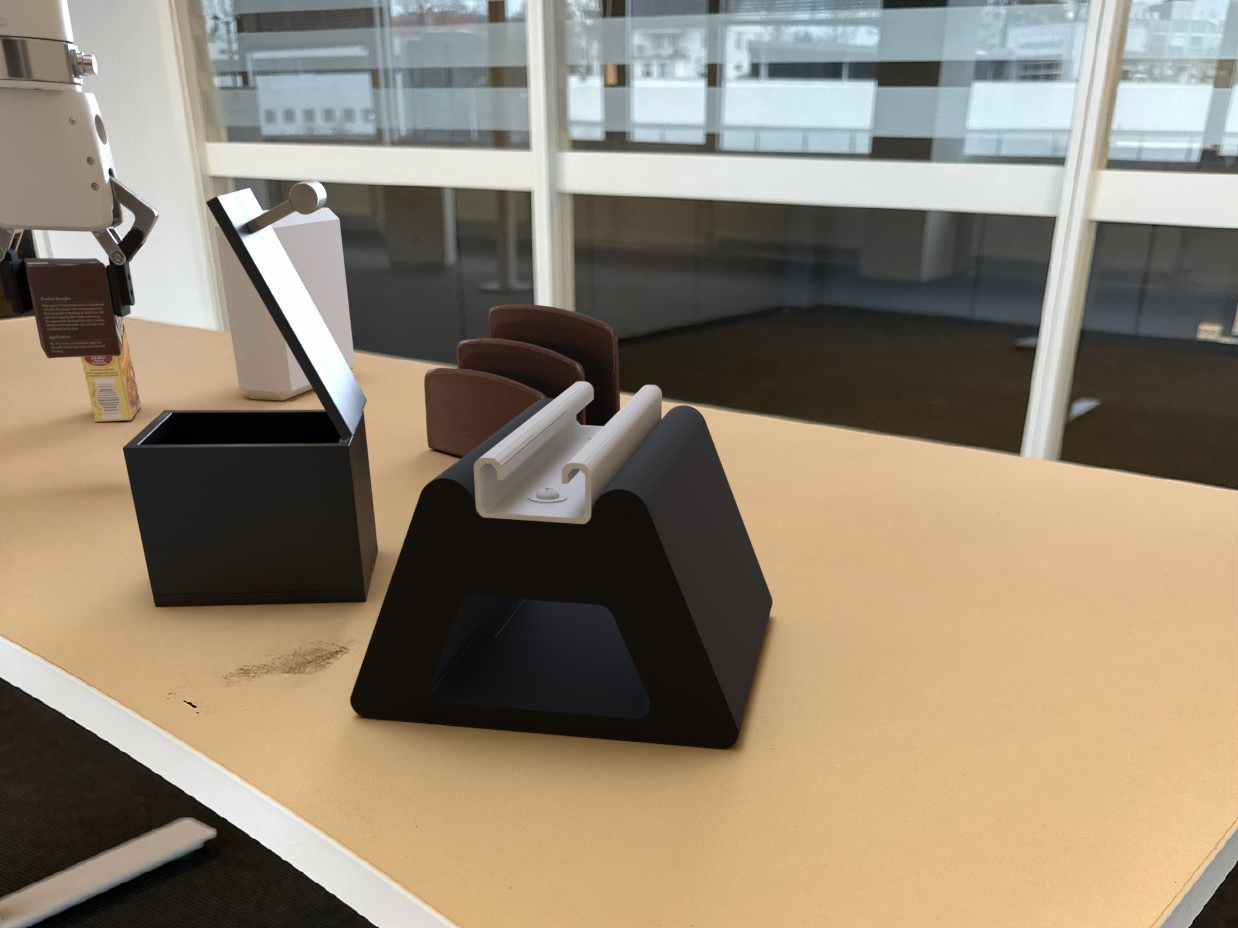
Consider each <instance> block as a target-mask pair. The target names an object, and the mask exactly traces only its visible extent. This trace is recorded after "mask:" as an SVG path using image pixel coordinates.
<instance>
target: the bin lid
mask: <svg viewBox="0 0 1238 928" xmlns="http://www.w3.org/2000/svg"><path fill="white" fill-rule="evenodd" d="M289 190H290V191H289V194H288V199H287V200H286V201H283V202H281V203H279V204H278V205H276V206H274V207H272V208H271V209H268V210H269V211H267V212H265V213H263V208H262V207H261V205H260V204H259V201H258V200H257V198H256V197H255V195H254V192H253V191H252V189H251V188H250V187H246V188H243V189H239V190H235V191H232V192H227V193H224V194H220V195H218V196H214V197H212V198H210V199H209V200H207V201H206V203H205V204H206V206H207V207H208V209H209V211H210V212H211V214H212V216H213V217H214V220H215V221H216V224H217V223H218V225H219V226H220V228H221V230H222V231H223V233H224V235H225V237H226V238H227V240H228V242H229V244H230V245H231V247H232V249H233V251H234V252H235V254H236V256H237V258H238V259H239V261H240V263H241V265H242V266H243V268H244V270H245V271H246V273H247V275H248V277H249V278H250V280H251V282H252V284H253V285H254V287H255V289H256V291H257V292H258V294H259V296H260V298H261V299H262V301H263V303H264V305H265V306H266V308H267V310H268V311H269V313H270V315H271V317H272V318H273V320H274V322H275V324H276V325H277V327H278V329H279V331H280V332H281V334H282V336H283V338H284V339H285V341H286V343H287V345H288V346H289V348H290V350H291V351H292V353H293V355H294V357H295V358H296V360H297V362H298V364H299V365H300V367H301V369H302V371H303V372H304V374H305V376H306V378H307V379H308V381H309V383H310V385H311V386H312V388H313V389H312V390H313V392H314V393H315V395H316V397H317V399H318V400H319V402H320V404H321V406H322V407H323V409H325V411H326V412H327V414H328V416H329V418H330V419H331V421H332V423H333V425H334V426H335V428H336V430H337V432H338V433H339V435H340V437H341V438H342V440H346V439H348V438H350V437H352V436H353V434H354V431H355V429H356V426H357V424H358V421H359V419H360V417H361V414H362V412H363V410H364V409H365V406H366V404H367V402H368V398H367V397H366V395H365V393H364V391H363V390H362V388H361V387H360V384H359V383H358V381H357V379H356V377H355V375H354V373H353V372H352V370H350V368H349V366H348V364H347V363H346V361H345V359H344V357H343V355H342V354H341V352H340V350H339V348H338V346H337V345H336V343H335V341H334V339H333V337H332V336H331V334H330V332H329V330H328V328H327V326H326V325H325V323H324V321H323V319H322V317H321V316H320V314H319V312H318V310H317V308H316V307H315V305H314V303H313V301H312V299H311V298H310V296H309V294H308V292H307V290H306V289H305V287H304V285H303V283H302V281H301V280H300V278H299V276H298V274H297V272H296V270H295V269H294V267H293V265H292V263H291V261H290V260H289V258H288V256H287V254H286V252H285V251H284V249H283V247H282V245H281V243H280V242H279V240H278V238H277V236H276V234H275V233H274V231H273V229H272V227H271V224H273V223H275V222H277V221H278V220H280V219H282V218H284V217H286V216H288V215H290V214H291V213H293V212H295V211H297V212H298V213H300V214H303V215H309V214H312V213H313V212H315V211H317V210H319V209H321V208H324V207H325V204H326V202H327V191H326V188H325V187H324V186H323V184H322V183H320V182H319V181H317V180H316V179H306V180H303V181H300V182H297V183H295V184H293V185H292V187H291V188H290V189H289Z"/></svg>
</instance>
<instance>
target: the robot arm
mask: <svg viewBox="0 0 1238 928" xmlns="http://www.w3.org/2000/svg"><path fill="white" fill-rule="evenodd" d="M98 71H99V70H98V63H97V59H96V57H95V55H94V54H85V53H84V52H81V51H80V50H79V48H78V45H76V44H75V40H74V33H73V28H72V22H71V16H70V11H69V4H68V0H0V281H1V285H2V289H3V295H4V299H5V300H6V302H7V303H11V307H12V312H13V314H14V315H23V314H27V313H29V312H32V310H33V311H34V309H33V304H32V299H31V294H30V289H29V285H28V280H27V275H26V270H25V265H24V260H22V258H19V254H18V248H19V245H20V243H21V239H22V236H23V234H24V231H25V230H28V231H51V232H52V231H55V232H85V233H86V232H87V233H89V232H91V234H92V236H93V237H94V238H95V239H96V241H97V242H98V244H99V246H100V247H101V248H102V249H103V251H104V252H105V254H106V255H107V257H108V264H109V265H107V266H106V273H107V278H108V284H109V290H110V297H111V302H112V308H113V313H114V315H116V316H117V317H123V318H124V317H126V316H128V315H130V314H132V313H131V311H132V309H131V307H133V306H135V304H136V297H135V291H134V286H133V279H132V273H131V268H130V263H131V262H132V261H133V259H134V257H135V256H136V255H137V254H138V252H139V251H140V250H141V248H142V247H143V246H144V244H145V243H146V242H147V238H148V237H149V235H150V234H151V232H152V230H153V229H154V227H155V225H156V223H157V222H158V220H159V217H160V214H159V212H158V210H157V209H156V208H155V207H153V206H152V205H151V204H150V203H148V202H147V201H146V200H144V199H143V198H142V197H140V196H139V195H138V194H137V193H135V192H134V191H132V189H130V188H129V187H127V186H126V185H125V184H123V183H122V182H121V181H119V180H118V175H117V170H116V165H115V162H114V157H113V154H112V150H111V145H110V141H109V138H108V134H107V130H106V126H105V123H104V120H103V117H102V113H101V110H100V107H99V105H98V101H97V99H96V96H95V94H94V93H92V92H85V91H83V87H82V85H84V80H85V77H88V76H97V75H98ZM124 208H126V209H127V210H128V211H129V212H130V213H132V215H133V216H134V222H133V223H132V226H131V228H130V229H129V231H127V233H126V234H125V235H124V236H123V237H122V235H121V233H119V232H118V230H117V229H116V228H117V227H119V226H121V225H122V224H123V223H124V220H125V219H124V218H125V213H124Z"/></svg>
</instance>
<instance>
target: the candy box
mask: <svg viewBox="0 0 1238 928" xmlns="http://www.w3.org/2000/svg"><path fill="white" fill-rule="evenodd" d="M103 264H104V265H105V267H106V266H107V265H109V263H107V264H106V263H103ZM114 319H115V324H116V329H117V335H118V340H119V346H120V352H121V355H120V356H92V357H80V359H81V363H82V364H81V365H82V368H83V373H84V378H85V382H86V387H87V390H88V394H89V399H90V400H89V401H90V404H91V408H92V413H93V418H94V421H95V422H97V423H98V422H118V421H119V422H122V421H126V422H127V421H128V422H129V421H132V419H133V418H134V416H135V415H136V414H137V413H138V410H140V409H141V408H142V403H141V398H140V393H139V389H138V384H137V378H136V374H135V370H134V364H133V359H132V354H131V350H130V346H129V341H128V336H127V331H126V326H125V320H124V317H117V316H116V315H114Z"/></svg>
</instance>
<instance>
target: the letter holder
mask: <svg viewBox="0 0 1238 928" xmlns="http://www.w3.org/2000/svg"><path fill="white" fill-rule="evenodd" d="M487 319H488V320H487V322H488V333H489V335H488V336H489V337H476V338H465V339H461V340H460V341H459V343H458V344H457V348H456V360H457V368H453V367H436V368H432V369H428V370H427V371H426V372H425V374H424V380H423V382H424V383H423V388H424V403H425V425H426V437H427V438H426V439H427V440H426V441H427V447H428V448H429V449H430V450H435V451H439V452H441V453H446V454H449V455H451V456H456V457H459V458H462V457H464V456H465V455H466V454H468V453H469V452H470V451H472V450H473V449H474V448H476V447H477V446H478V445H480V444H481V443H482V442H484V441H485V440H486V439H488V438H489V437H490V436H492V435H493V434H494V433H496V432H497V431H498V430H500V429H501V428H502V427H504V426H505V425H506V424H507V423H509V422H510V421H511V420H513V419H514V418H515V417H517V416H518V415H519V414H521V413H522V412H523V411H525V410H526V409H527V408H529V407H530V406H531V405H533V404H534V403H535V402H537V401H538V400H541V399H544V398H552V399H555V398H557V397H558V396H559V395H560V394H562V393H563V392H564V391H565V390H567V389H568V388H569V387H571V386H572V385H573V384H574V383H576V382H579V381H582V382H588V383H590V384H591V385H592V387H593V390H594V399H593V400H592V401H591V402H590V403H589V404H588V405H586V406H585V407H584V408H583V409H582V410H581V411H580V412H579V413H577V414H576V420H577V421H578V423H579V424H580V425H588V426H605V425H606V424H607V423H608V422H609V421H610V420H611V419H612V418H613V416H614V415H615V414H616V413H617V412H618V411H619V410H620V409H621V390H620V372H619V371H620V370H619V348H618V347H619V341H618V340H619V339H618V334H617V330H616V328H615V327H614V326H612V325H611V324H610V323H608V322H606V321H602V320H600V319H598V318H595V317H592V316H589V315H586V314H583V313H580V312H577V311H573V310H568V309H565V308H561V307H554V306H549V305H540V304H526V303H511V304H510V303H509V304H497V305H493V306H492V307H491V308H490V309H489V311H488V315H487Z"/></svg>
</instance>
